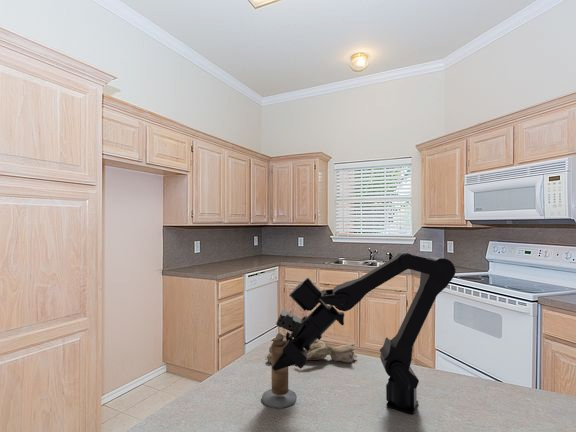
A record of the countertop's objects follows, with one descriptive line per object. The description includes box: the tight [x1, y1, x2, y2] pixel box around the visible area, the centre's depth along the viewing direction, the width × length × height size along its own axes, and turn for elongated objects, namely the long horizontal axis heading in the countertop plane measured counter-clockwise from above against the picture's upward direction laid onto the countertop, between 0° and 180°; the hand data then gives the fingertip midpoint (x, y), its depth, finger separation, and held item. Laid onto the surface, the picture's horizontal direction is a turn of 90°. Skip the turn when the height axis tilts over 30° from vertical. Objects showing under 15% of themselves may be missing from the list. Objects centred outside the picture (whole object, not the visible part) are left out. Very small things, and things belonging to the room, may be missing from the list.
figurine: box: [267, 339, 358, 367], centre depth 112 cm, size 17×6×30 cm
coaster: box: [261, 388, 297, 409], centre depth 86 cm, size 9×9×1 cm
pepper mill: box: [270, 332, 289, 395], centre depth 86 cm, size 4×4×15 cm
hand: (274, 365), depth 86 cm, fingers closed on pepper mill, 4 cm apart
